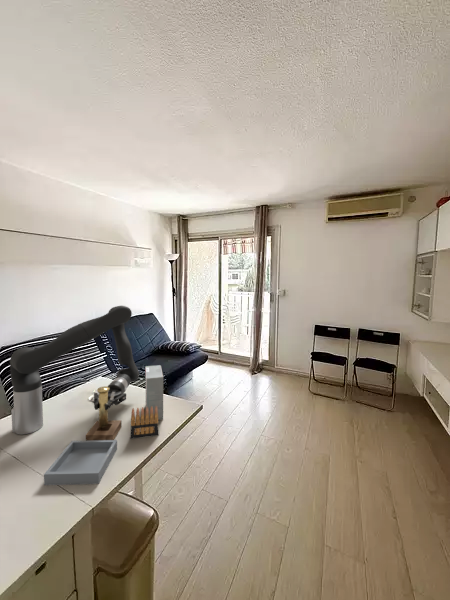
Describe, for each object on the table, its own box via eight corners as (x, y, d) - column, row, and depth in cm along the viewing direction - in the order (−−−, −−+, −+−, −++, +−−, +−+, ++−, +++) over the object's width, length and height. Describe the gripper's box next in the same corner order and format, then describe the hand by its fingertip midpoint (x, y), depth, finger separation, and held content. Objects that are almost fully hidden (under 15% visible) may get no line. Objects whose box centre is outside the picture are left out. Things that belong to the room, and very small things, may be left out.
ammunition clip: (158, 432, 105) (158, 404, 104) (158, 435, 104) (158, 406, 102) (130, 435, 103) (130, 407, 102) (130, 438, 101) (130, 409, 100)
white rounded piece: (99, 402, 129) (99, 395, 129) (84, 402, 129) (84, 394, 129) (108, 395, 138) (108, 387, 137) (93, 394, 138) (93, 387, 138)
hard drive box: (145, 405, 127) (145, 366, 125) (161, 403, 130) (161, 364, 128) (145, 422, 112) (145, 378, 111) (163, 419, 115) (163, 376, 113)
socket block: (85, 442, 98) (85, 435, 97) (97, 427, 108) (97, 420, 107) (112, 442, 98) (112, 434, 98) (121, 427, 108) (121, 420, 108)
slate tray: (44, 485, 78) (43, 474, 77) (72, 449, 94) (71, 440, 93) (98, 483, 79) (98, 473, 78) (117, 449, 95) (117, 440, 94)
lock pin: (95, 428, 100) (95, 391, 99) (100, 422, 104) (100, 386, 103) (106, 428, 100) (107, 391, 99) (111, 422, 105) (111, 386, 104)
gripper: (100, 380, 116) (82, 398, 99) (132, 380, 117) (119, 398, 99) (100, 396, 116) (82, 416, 99) (132, 396, 117) (119, 417, 100)
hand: (101, 407), depth 99 cm, fingers closed on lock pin, 3 cm apart
